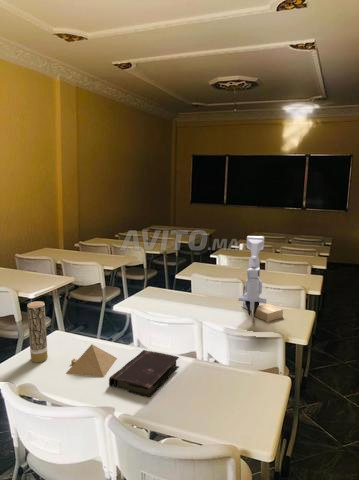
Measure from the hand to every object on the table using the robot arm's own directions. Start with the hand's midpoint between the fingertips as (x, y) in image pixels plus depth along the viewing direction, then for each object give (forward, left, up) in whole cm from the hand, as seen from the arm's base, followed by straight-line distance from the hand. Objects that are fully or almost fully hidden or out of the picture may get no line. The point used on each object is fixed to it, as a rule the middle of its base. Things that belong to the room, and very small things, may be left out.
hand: (251, 314), depth 205 cm
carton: (-3, +15, -5) cm, 16 cm away
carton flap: (-3, +4, -5) cm, 7 cm away
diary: (+17, -73, -6) cm, 75 cm away
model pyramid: (-3, -88, -6) cm, 88 cm away
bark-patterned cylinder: (-20, -105, -5) cm, 107 cm away
